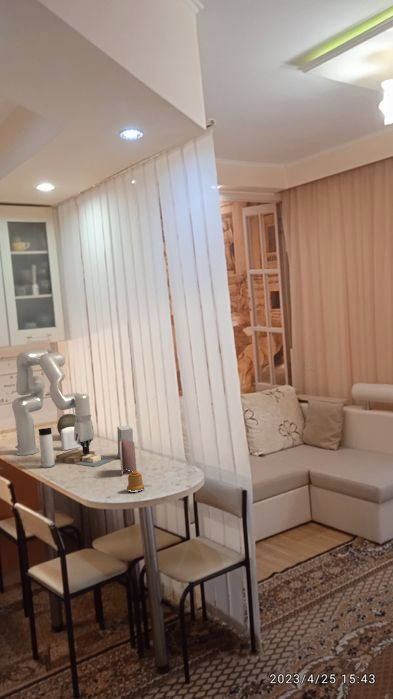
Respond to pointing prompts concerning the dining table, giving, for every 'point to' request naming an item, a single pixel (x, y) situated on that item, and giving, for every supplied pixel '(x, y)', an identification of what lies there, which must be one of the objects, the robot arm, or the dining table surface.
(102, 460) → the mat
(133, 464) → the greeting card
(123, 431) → the skincare box
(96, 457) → the cream rectangular block
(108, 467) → the dining table surface
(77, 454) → the tan flat square block
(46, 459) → the travel mug
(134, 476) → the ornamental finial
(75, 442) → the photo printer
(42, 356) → the robot arm
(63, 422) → the cantaloupe
